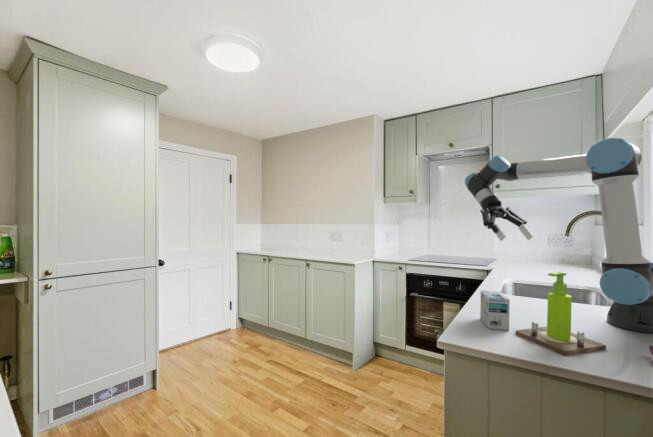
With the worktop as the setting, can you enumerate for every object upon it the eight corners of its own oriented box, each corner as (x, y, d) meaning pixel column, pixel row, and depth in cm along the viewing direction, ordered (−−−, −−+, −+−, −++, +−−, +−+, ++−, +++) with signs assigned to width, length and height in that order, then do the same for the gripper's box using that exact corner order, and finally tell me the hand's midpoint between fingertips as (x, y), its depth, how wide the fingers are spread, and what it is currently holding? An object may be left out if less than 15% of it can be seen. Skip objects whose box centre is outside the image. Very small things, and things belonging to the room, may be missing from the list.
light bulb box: (509, 331, 105) (510, 299, 105) (488, 329, 107) (488, 297, 106) (499, 320, 116) (499, 291, 115) (479, 318, 117) (479, 290, 117)
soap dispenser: (539, 334, 99) (541, 271, 98) (556, 332, 101) (557, 270, 100) (558, 342, 93) (560, 275, 93) (575, 339, 95) (577, 273, 95)
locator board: (552, 329, 107) (553, 314, 107) (606, 349, 92) (606, 331, 91) (515, 334, 102) (515, 318, 102) (564, 355, 87) (565, 337, 87)
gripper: (506, 207, 143) (535, 243, 129) (460, 206, 136) (485, 244, 122) (516, 195, 138) (548, 231, 124) (469, 193, 131) (497, 232, 117)
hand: (517, 238), depth 123 cm, fingers open, 13 cm apart
